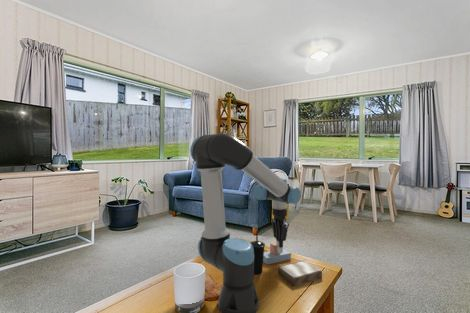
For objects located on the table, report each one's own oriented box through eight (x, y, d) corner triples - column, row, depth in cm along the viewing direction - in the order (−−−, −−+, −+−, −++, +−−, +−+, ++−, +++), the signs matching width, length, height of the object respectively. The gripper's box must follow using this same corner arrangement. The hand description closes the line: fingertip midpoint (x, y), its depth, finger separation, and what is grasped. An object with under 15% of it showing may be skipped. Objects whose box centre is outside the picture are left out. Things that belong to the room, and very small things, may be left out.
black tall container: (246, 274, 115) (246, 231, 115) (252, 267, 121) (252, 227, 121) (261, 277, 111) (261, 234, 111) (267, 270, 118) (267, 229, 118)
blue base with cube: (267, 264, 124) (267, 248, 124) (260, 259, 130) (260, 243, 130) (290, 259, 130) (290, 243, 130) (283, 254, 137) (283, 239, 136)
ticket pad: (293, 286, 104) (293, 277, 104) (277, 273, 115) (277, 266, 115) (322, 278, 110) (322, 270, 110) (304, 267, 121) (304, 259, 121)
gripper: (293, 209, 122) (293, 256, 122) (278, 204, 134) (278, 247, 134) (280, 211, 119) (281, 258, 119) (266, 206, 131) (266, 249, 131)
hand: (279, 252), depth 127 cm, fingers closed
